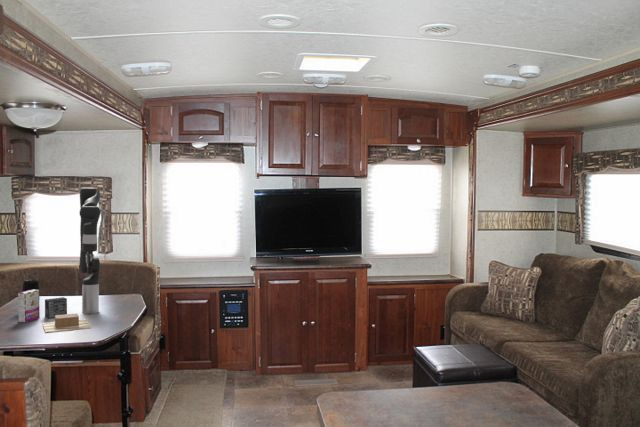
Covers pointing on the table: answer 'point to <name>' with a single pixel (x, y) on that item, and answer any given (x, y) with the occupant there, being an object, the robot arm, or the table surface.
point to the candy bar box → (28, 305)
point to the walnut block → (66, 320)
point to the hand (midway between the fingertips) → (89, 273)
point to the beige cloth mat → (52, 328)
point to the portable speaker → (30, 284)
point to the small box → (55, 307)
